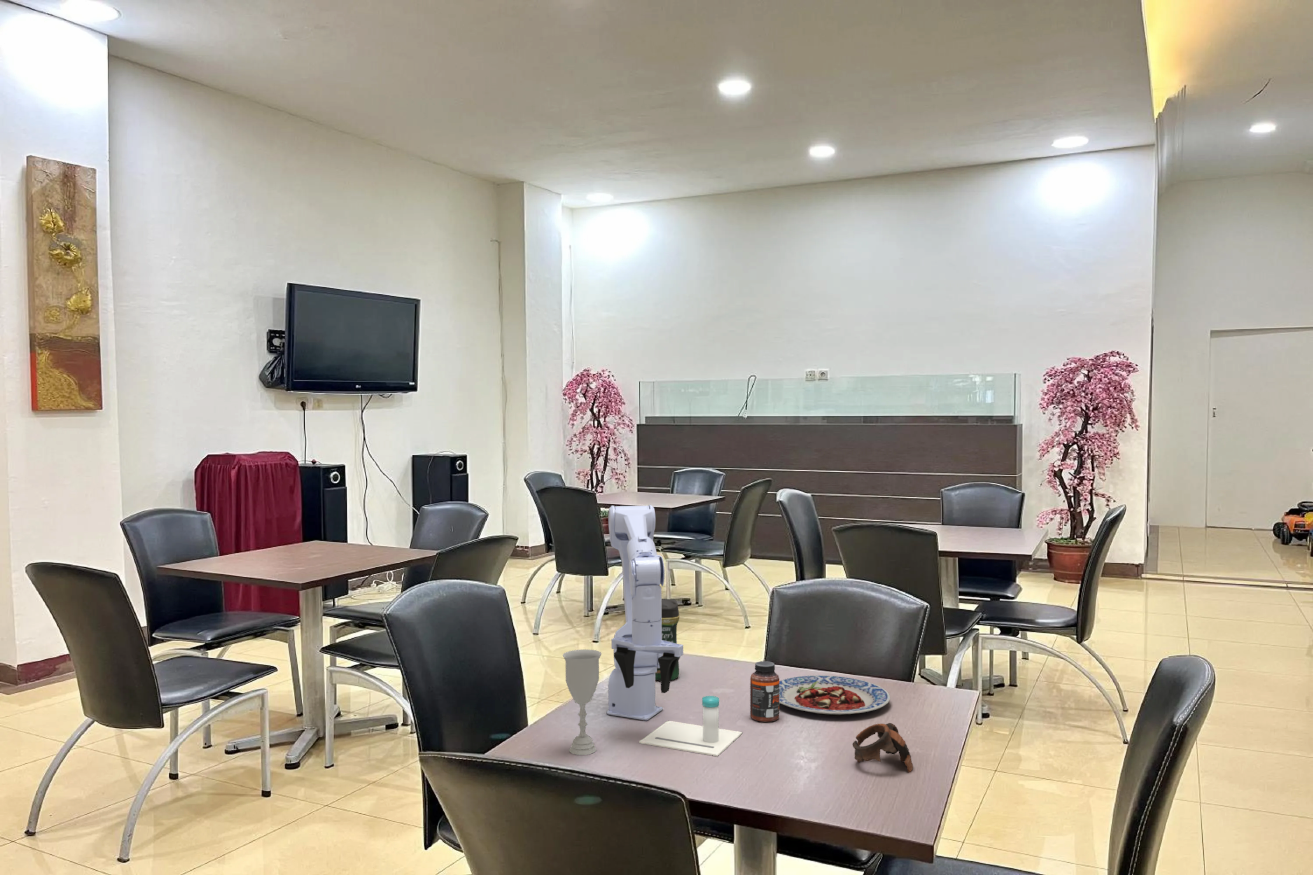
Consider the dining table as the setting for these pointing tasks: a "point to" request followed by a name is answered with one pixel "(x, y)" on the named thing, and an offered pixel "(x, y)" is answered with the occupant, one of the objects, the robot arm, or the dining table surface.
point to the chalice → (582, 691)
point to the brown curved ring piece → (882, 744)
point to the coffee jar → (669, 629)
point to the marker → (710, 719)
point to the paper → (689, 738)
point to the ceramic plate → (831, 694)
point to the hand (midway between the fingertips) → (647, 688)
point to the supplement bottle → (764, 692)
